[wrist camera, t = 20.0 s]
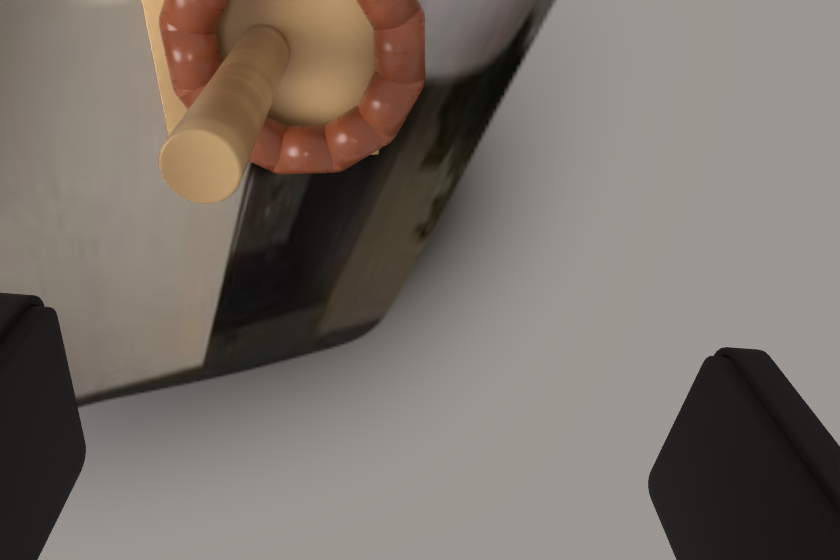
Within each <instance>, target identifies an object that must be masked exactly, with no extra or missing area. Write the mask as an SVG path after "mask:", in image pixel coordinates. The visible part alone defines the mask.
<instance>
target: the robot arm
mask: <svg viewBox="0 0 840 560" xmlns="http://www.w3.org/2000/svg"><path fill="white" fill-rule="evenodd" d="M85 454H86V445H85V440H84V435H83V430H82V426H81V421H80V417H79V412H78V408H77V403H76V399H75V394H74V389H73V385H72V380H71V376H70V371H69V367H68V362H67V357H66V353H65V348H64V344H63V339H62V335H61V330H60V326H59V321H58V317H57V314H56V311H55V310H54V309H53V308H50V307H44V304H43V301H42V300H41V299H40V298H39V297H37V296H35V295H22V294H9V293H0V560H37V559H38V557H39V555H40V553H41V551H42V549H43V547H44V545H45V543H46V541H47V539H48V537H49V535H50V533H51V531H52V529H53V527H54V525H55V523H56V521H57V519H58V517H59V515H60V513H61V511H62V508H63V507H64V505H65V502H66V501H67V499H68V497H69V494H70V492H71V490H72V488H73V486H74V484H75V482H76V480H77V478H78V476H79V474H80V472H81V470H82V467H83V464H84V460H85ZM648 488H649V494H650V497H651V500H652V502H653V504H654V507H655V509H656V512H657V514H658V516H659V519H660V521H661V524H662V526H663V528H664V531H665V533H666V535H667V538H668V540H669V543H670V545H671V548H672V550H673V552H674V555H675V557H676V560H840V446H839V445H838V444H837V442H836V441H835V440H834V439H833V437H832V436H831V435H830V433H829V432H828V431H827V430H826V429H825V427H824V426H823V424H822V423H821V422H820V420H819V419H818V418H817V417H816V415H815V414H814V413H813V411H812V410H811V409H810V408H809V406H808V405H807V404H806V402H805V401H804V400H803V399H802V397H801V396H800V395H799V394H798V392H797V391H796V390H795V388H794V387H793V386H792V384H791V383H790V382H789V380H788V379H787V378H786V377H785V375H784V374H783V373H782V372H781V370H780V369H779V368H778V366H777V365H776V364H775V362H774V361H773V360H772V359H771V357H770V356H769V355H768V354H767V353H766V352H764V351H761V350H756V349H743V348H730V347H725V348H721V349H719V350H718V351H717V352H716V353H715V355H714V356H709V357H708V358H706V359H705V361H704V362H703V364H702V366H701V368H700V370H699V373H698V374H697V376H696V379H695V381H694V383H693V385H692V387H691V389H690V391H689V393H688V395H687V398H686V399H685V401H684V404H683V405H682V408H681V410H680V412H679V414H678V416H677V418H676V420H675V422H674V424H673V427H672V428H671V430H670V433H669V435H668V437H667V439H666V441H665V443H664V445H663V447H662V449H661V451H660V453H659V456H658V458H657V459H656V462H655V464H654V466H653V468H652V470H651V472H650V475H649V481H648Z"/></svg>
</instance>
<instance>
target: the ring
mask: <svg viewBox="0 0 840 560" xmlns="http://www.w3.org/2000/svg"><path fill="white" fill-rule="evenodd" d="M227 1H228V0H164V3H163V6H162V9H161V12H160V15H159V28H160V33H161V37H162V42H163V46H164V51H165V56H166V60H167V65H168V69H169V74H170V79H171V83H172V87H173V90H174V92H175V94H176V96H177V97H178V98H179V100H180V101H181V102H182V103H183V104H184V106H185V107H186V108H187V109H189V108H190V107H191V105H192V104H193V102H194V101H195V100H196V98H197V97H198V96H199V94H200V93H201V92H202V90H203V89H204V87H205V86H206V85H207V83H208V82H209V81H210V79H211V78H212V76H213V75H214V74H215V72H216V71H217V70H218V68H219V67H220V66H221V64H222V63H221V57H220V52H219V46H218V40H217V34H216V30H217V27H218V25H219V22H220V19H221V17H222V14H223V11H224V9H225V6H226V4H227ZM356 1H357V3H358V4H359V6H360V8H361V9H362V11H363V13H364V14H365V16H366V17H367V19H368V21H369V22H370V24H371V26H372V27H373V32H374V54H375V72H374V74H373V76H372V78H371V80H370V82H369V84H368V86H367V87H366V89H365V91H364V93H363V95H362V97H361V99H360V101H359V103H358V105H356V106H355V107H353V108H352V109H350V110H348V111H347V112H345V113H344V114H342V115H340V116H339V117H337V118H335V119H334V120H332V121H331V122H329V123H327V124H326V125H298V126H286V125H284V124H282V123H280V122H278V121H276V120H274V119H272V118H269V117H266V120H265V122H264V125H263V127H262V130H261V132H260V135H259V137H258V140H257V142H256V145H255V147H254V150H253V152H252V155H251V157H250V160H249V161H250V162H252V163H254V164H257V165H259V166H261V167H263V168H265V169H267V170H270V171H272V172H274V173H277V174H306V173H335V172H340V171H343V170H345V169H347V168H348V167H350V166H352V165H354V164H355V163H357V162H359V161H360V160H362V159H364V158H365V157H367V156H369V155H370V154H372V153H374V152H375V151H377V150H379V149H380V148H382V147H384V146H385V145H387V144H389V143H390V142H391V141H392V140H393V139H394V138H395V137H396V135H397V134H398V132H399V130H400V128H401V126H402V125H403V123H404V121H405V119H406V118H407V116H408V114H409V112H410V110H411V109H412V107H413V105H414V103H415V102H416V100H417V98H418V96H419V94H420V93H421V91H422V89H423V87H424V83H425V15H424V11H423V8H422V6H421V4H420V3H419V1H418V0H356Z"/></svg>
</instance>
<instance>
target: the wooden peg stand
mask: <svg viewBox="0 0 840 560" xmlns="http://www.w3.org/2000/svg"><path fill="white" fill-rule="evenodd" d="M163 3H164V0H142V4H143V9H144V14H145V19H146V24H147V30H148V35H149V40H150V45H151V50H152V55H153V60H154V65H155V70H156V75H157V80H158V85H159V90H160V95H161V100H162V105H163V110H164V115H165V120H166V125H167V130H168V135H169V137H168V138H167V139H166V141H165V142H164V143H163V145H162V147H161V150H160V153H159V167H160V171H161V174H162V176H163V178H164V180H165V181H166V183H167V184H168V186H169V187H170V188H171V189H172V190H173V191H174V192H175V193H177V194H178V195H180V196H181V197H183V198H185V199H187V200H189V201H192V202H196V203H202V204H210V203H216V202H220V201H223V200H225V199H227V198H228V197H230V196H231V195H232V194H233V193H234V192H235V191H236V190H237V188H238V187H239V185H240V182H241V180H242V177H243V175H244V172H245V170H246V167H247V165H248V162H249V160H250V157H251V155H252V152H253V150H254V147H255V145H256V142H257V140H258V137H259V135H260V132H261V130H262V127H263V125H264V122H265V120H266V117H269V118H272V119H274V120H276V121H278V122H280V123H282V124H284V125H286V126H298V125H326V124H327V123H329V122H331V121H332V120H334V119H335V118H337V117H339V116H340V115H342V114H344V113H345V112H347V111H348V110H350V109H352V108H353V107H355V106H356V105H358V103H359V101H360V99H361V97H362V95H363V93H364V91H365V89H366V87H367V86H368V84H369V82H370V80H371V78H372V76H373V74H374V72H375V54H374V32H373V27H372V26H371V24H370V22H369V21H368V19H367V17H366V16H365V14H364V13H363V11H362V9H361V8H360V6H359V4H358V3H357V1H356V0H228V1H227V4H226V6H225V9H224V11H223V14H222V17H221V19H220V22H219V25H218V27H217V30H216V34H217V40H218V46H219V52H220V57H221V63H222V64H221V66H220V67H219V68H218V70H217V71H216V72H215V74H214V75H213V76H212V78H211V79H210V81H209V82H208V83H207V85H206V86H205V87H204V89H203V90H202V92H201V93H200V94H199V96H198V97H197V98H196V100H195V101H194V102H193V104H192V105H191V107H190V108H189V109H187V108H186V107H185V106H184V104H183V103H182V102H181V101H180V100H179V98H178V97H177V96H176V94H175V92H174V90H173V87H172V83H171V79H170V74H169V69H168V65H167V60H166V56H165V51H164V46H163V42H162V37H161V33H160V28H159V15H160V12H161V9H162V6H163ZM378 153H379V150H377V151H375V152H374V153H372V154H378Z"/></svg>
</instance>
